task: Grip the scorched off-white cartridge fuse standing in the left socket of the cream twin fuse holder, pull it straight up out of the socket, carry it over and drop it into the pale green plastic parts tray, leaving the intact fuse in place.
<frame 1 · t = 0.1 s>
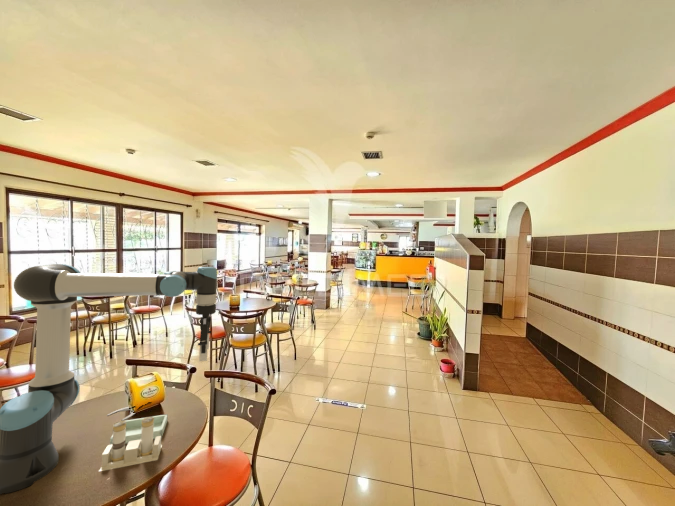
hand: (204, 354, 119), 28 cm above the table, fingers open, 13 cm apart
fuse holder: (132, 459, 96), on the table
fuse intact: (146, 454, 98), point 1 cm above the table, touching fuse holder
fuse blown: (118, 459, 95), point 1 cm above the table, touching fuse holder
parts tray: (140, 434, 109), on the table
pliers: (132, 410, 126), on the table
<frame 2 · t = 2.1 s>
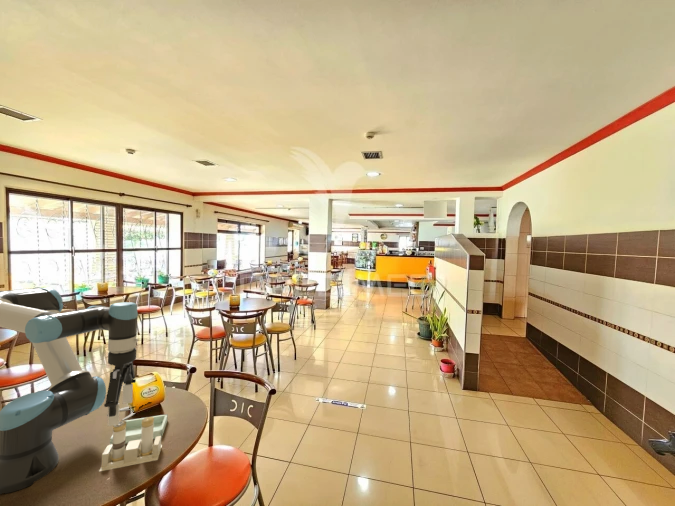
hand: (120, 413, 95), 16 cm above the table, fingers open, 13 cm apart
nothing on the table moved.
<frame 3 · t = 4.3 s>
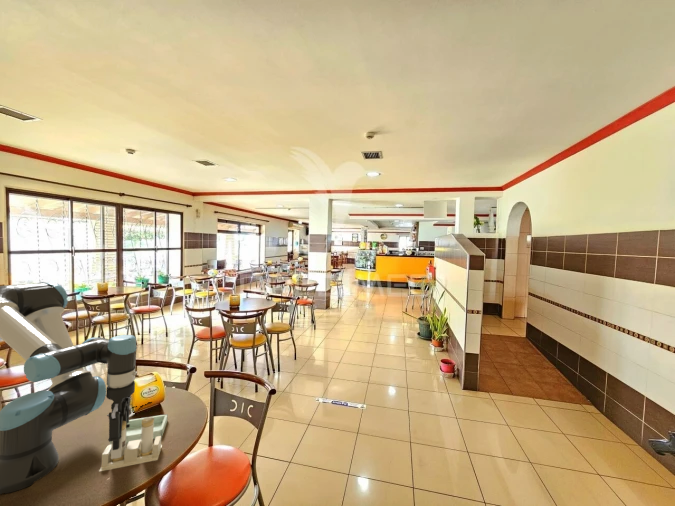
hand: (118, 452, 95), 3 cm above the table, fingers closed on fuse blown, 3 cm apart
fuse blown: (118, 459, 95), point 1 cm above the table, touching fuse holder, gripper
everything else where it was.
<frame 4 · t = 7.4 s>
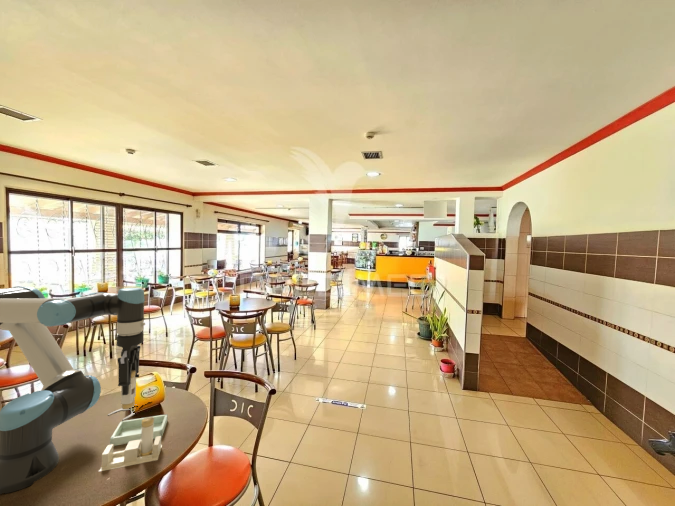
hand: (128, 399, 99), 19 cm above the table, fingers closed on fuse blown, 3 cm apart
fuse blown: (128, 406, 99), point 16 cm above the table, touching gripper
everything else where it was.
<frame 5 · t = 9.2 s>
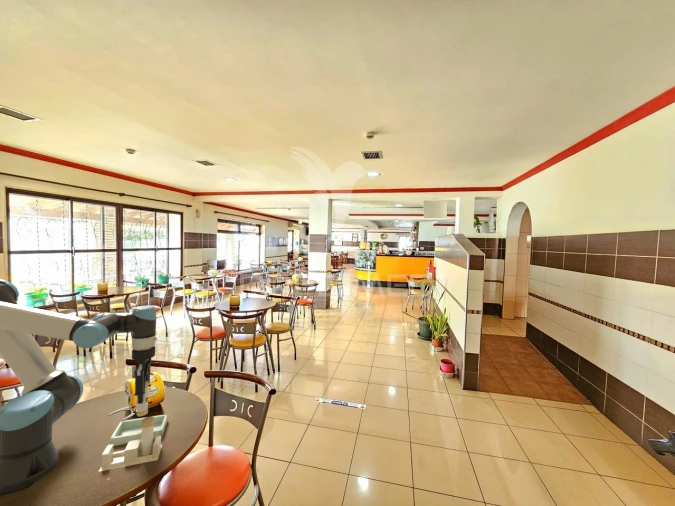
hand: (142, 407, 109), 10 cm above the table, fingers closed on fuse blown, 3 cm apart
fuse blown: (142, 413, 109), point 8 cm above the table, touching gripper
everything else where it was.
when the fingers open (5 cm above the table, at t = 10.6 s): fuse blown drops 2 cm, resting on parts tray.
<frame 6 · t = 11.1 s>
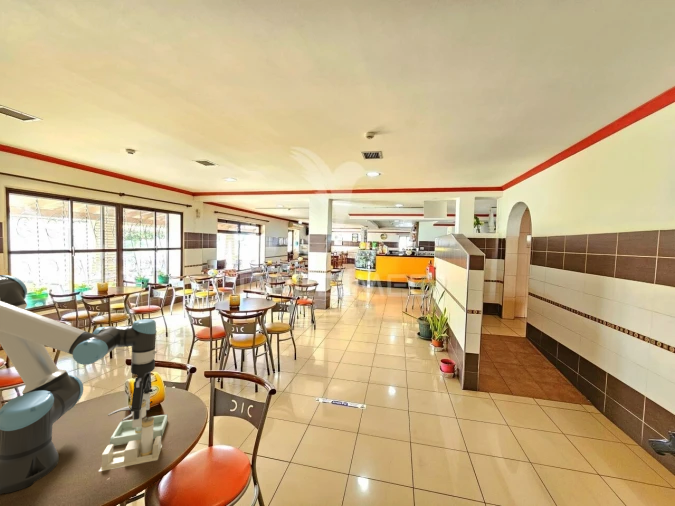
hand: (141, 417, 109), 6 cm above the table, fingers open, 11 cm apart
fuse blown: (140, 432, 109), point 1 cm above the table, touching parts tray
everything else where it was.
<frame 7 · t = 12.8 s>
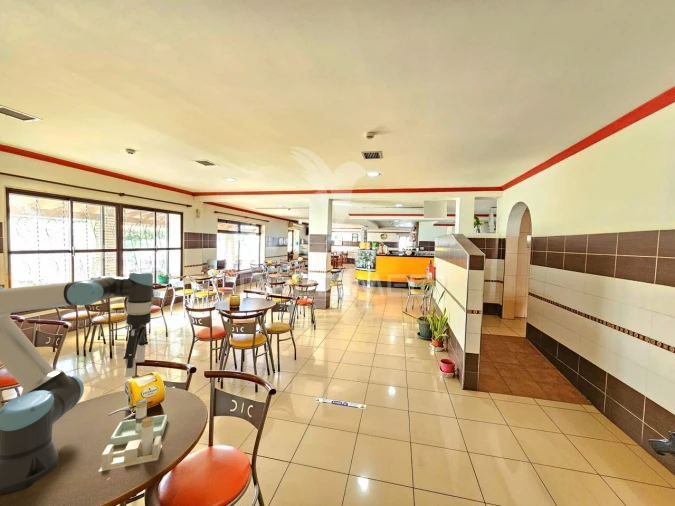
hand: (135, 368, 108), 26 cm above the table, fingers open, 13 cm apart
nothing on the table moved.
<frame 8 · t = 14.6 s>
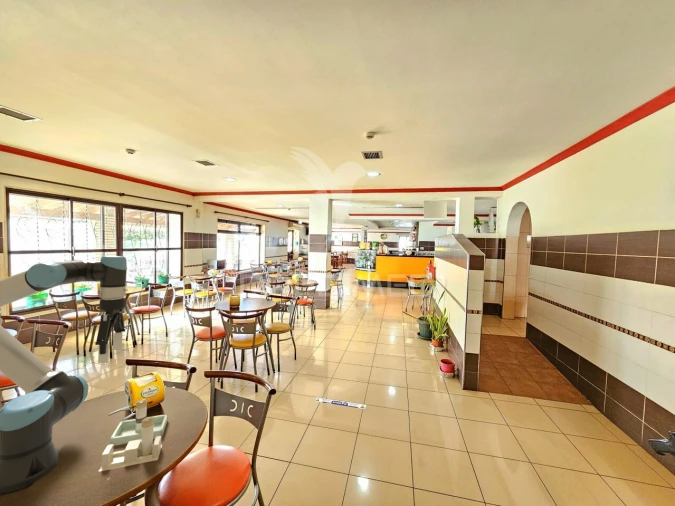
hand: (110, 355, 104), 32 cm above the table, fingers open, 13 cm apart
nothing on the table moved.
at the end: fuse blown inside the target area on the parts tray (0.0 cm from its centre), point 0.8 cm above the parts tray's base; the gripper is holding nothing; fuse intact moved 0.0 cm from its start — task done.
